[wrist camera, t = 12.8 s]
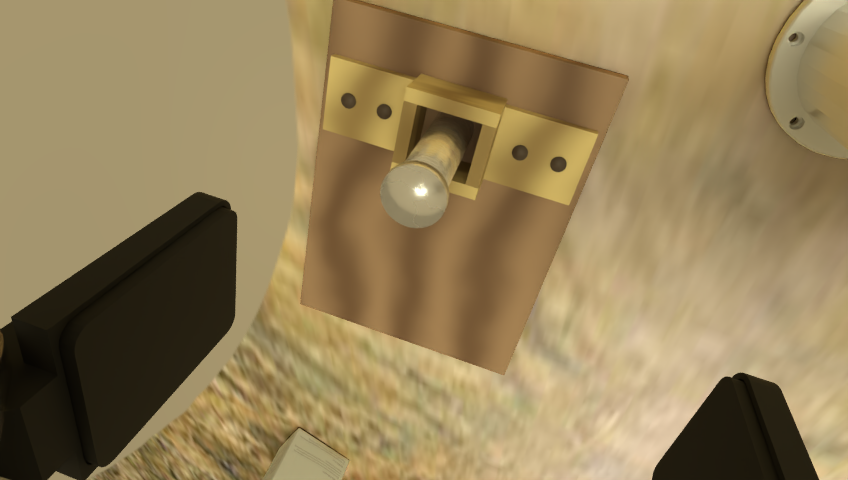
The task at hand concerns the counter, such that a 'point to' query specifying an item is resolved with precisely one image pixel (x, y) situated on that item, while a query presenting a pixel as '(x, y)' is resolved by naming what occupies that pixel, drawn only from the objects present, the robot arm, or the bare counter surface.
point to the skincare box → (306, 460)
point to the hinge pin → (427, 173)
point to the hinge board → (469, 189)
